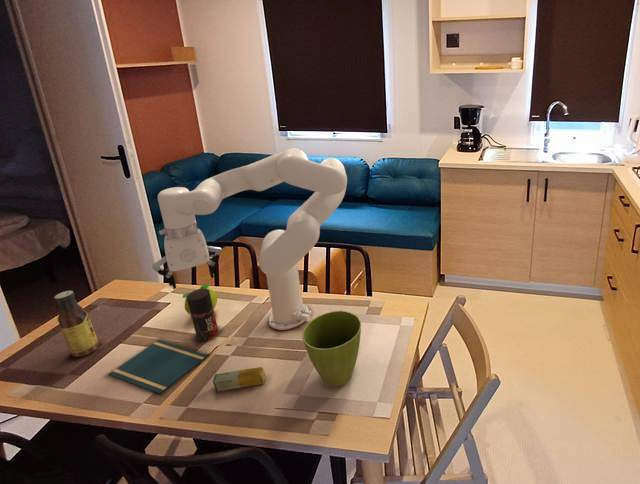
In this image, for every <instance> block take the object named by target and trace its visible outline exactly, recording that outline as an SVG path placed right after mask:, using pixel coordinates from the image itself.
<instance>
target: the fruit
mask: <svg viewBox="0 0 640 484" xmlns="http://www.w3.org/2000/svg"><path fill="white" fill-rule="evenodd" d="M210 286H211V283H206V284H203V285H201V286H200V288H196V289H194V290H192V291H189V292H185V293H183V295H182V297H181V298H182V299H185V301H184V310H185V311H186V313H187V314H188V315H190V316H191V313H190V309H189V305H188V301H187V296H188V294H190V293H191V292H193V291H195V290H198V289H208V290H209V292H210V296H211V301H212V305H213V309H214V310H215V308H216V306H217V303H218V294H217V293H216V292H215V291H214V290H212V289H209V287H210Z"/></svg>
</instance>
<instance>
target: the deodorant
mask: <svg viewBox="0 0 640 484" xmlns="http://www.w3.org/2000/svg"><path fill="white" fill-rule="evenodd" d="M197 289H198V290H196V289H194V290H195V291H194V290H192V291H193V292H192V291H190V292H191V293H190V294H188V296H187V301H188V305H189V309H190V313H191V315H190V316H191V320H192V324H193V329H194V332H195V336H196V339H197V341H198V342H207V341H210V340H212V339H214V338H216V337H217V336H218V334H219V327H218V322H217V318H216V314H215V308H214V309H213V305H212V301H211V296H210V292H209V290H208V289H209V288H207V289H200V288H197Z"/></svg>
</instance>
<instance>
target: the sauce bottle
mask: <svg viewBox="0 0 640 484" xmlns="http://www.w3.org/2000/svg"><path fill="white" fill-rule="evenodd" d="M75 296H76V294H75V292H74V291H73V290H65V291H62V292H59V293H57V294H56V295H55V296H54V297H53V299H54V302H55V303H56V304H57V306H58V310H59V314H58V316H57V322H58V324H59V328H60V330H61V333H62V335H63V338H64V340H65V343H66V345H67V347H68V350H69V352H70V353H71V356H72V357H74V358H81V357H84V356H88V355H89V354H91V353H93V352H95V351H96V350H97V349H98V347H99V340H98V337H97V334H96V332H95V330H94V326H93V324H92V322H91V318H90V316H89V313H88V311H86V309H84V308H83V306H81V305H80V304H79V303H78V301H77V300H76V299H77V298H76V297H75Z"/></svg>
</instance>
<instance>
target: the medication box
mask: <svg viewBox="0 0 640 484" xmlns="http://www.w3.org/2000/svg"><path fill="white" fill-rule="evenodd" d="M265 381H266V374H265V369H264V366H258V367H252V368H246V369H239V370H232V371H226V372H220V373H215V374H214V377H213V379H212V384H213V386H214V389H215V391H216V393H217V392H220V391H226V390H227V391H228V390H232V389H240V388H245V387H253V386H258V385H264V384H265Z"/></svg>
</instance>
